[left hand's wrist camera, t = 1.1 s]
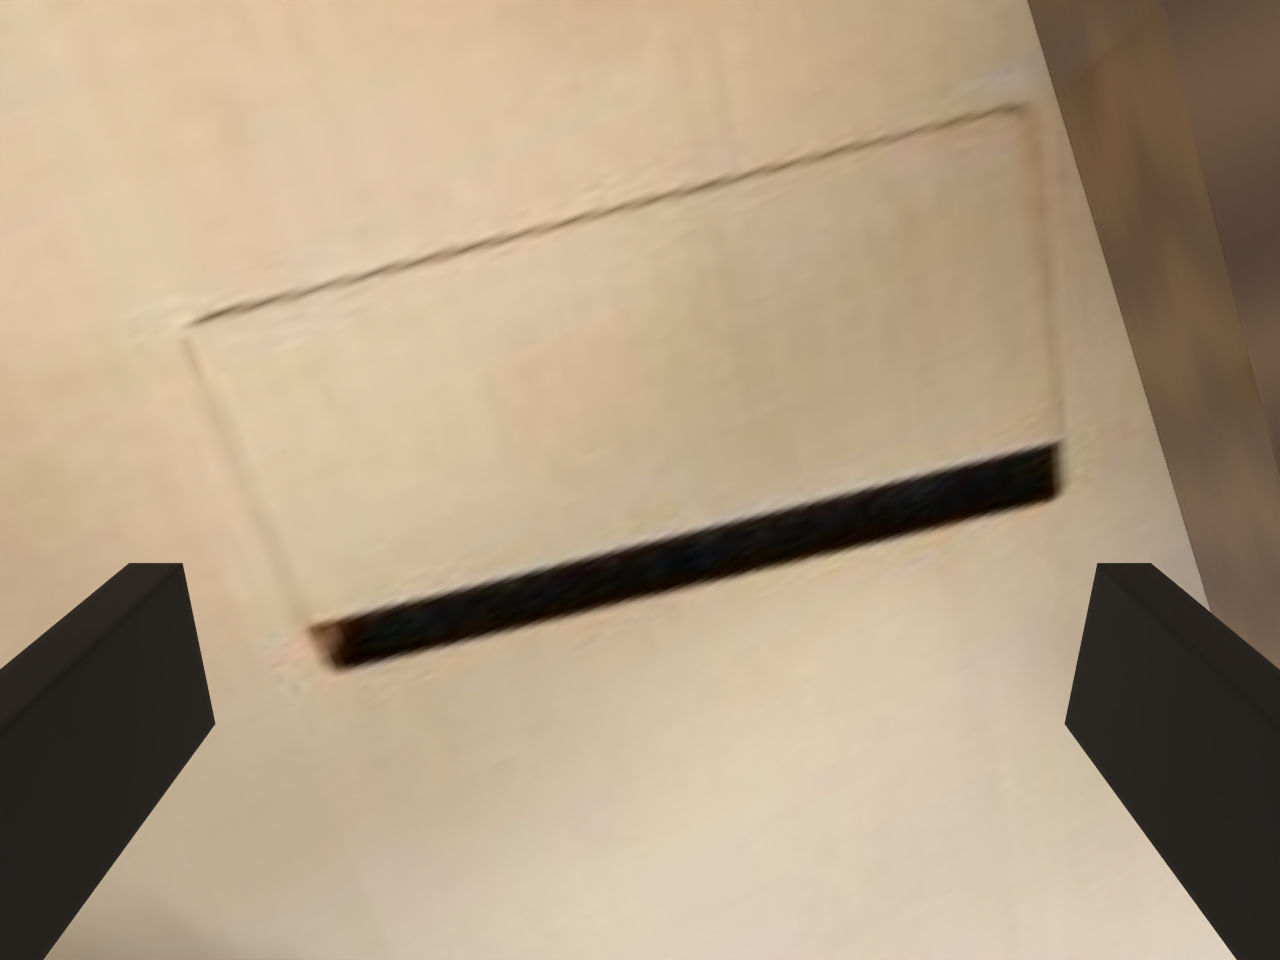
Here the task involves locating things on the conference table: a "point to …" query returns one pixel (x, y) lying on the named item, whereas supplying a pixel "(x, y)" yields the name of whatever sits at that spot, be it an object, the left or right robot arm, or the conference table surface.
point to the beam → (1192, 255)
